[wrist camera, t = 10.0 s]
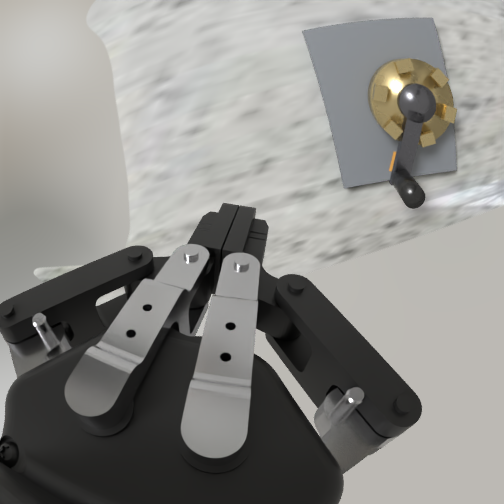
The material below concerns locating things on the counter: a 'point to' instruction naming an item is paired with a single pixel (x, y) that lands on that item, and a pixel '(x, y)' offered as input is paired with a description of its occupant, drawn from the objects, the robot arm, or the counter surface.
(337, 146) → the base plate
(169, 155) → the counter surface
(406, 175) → the lever with gold dial
